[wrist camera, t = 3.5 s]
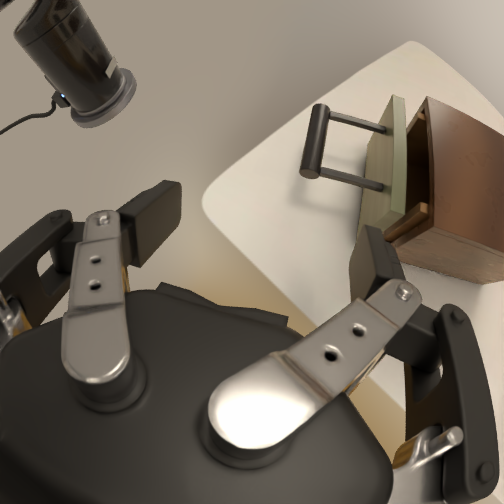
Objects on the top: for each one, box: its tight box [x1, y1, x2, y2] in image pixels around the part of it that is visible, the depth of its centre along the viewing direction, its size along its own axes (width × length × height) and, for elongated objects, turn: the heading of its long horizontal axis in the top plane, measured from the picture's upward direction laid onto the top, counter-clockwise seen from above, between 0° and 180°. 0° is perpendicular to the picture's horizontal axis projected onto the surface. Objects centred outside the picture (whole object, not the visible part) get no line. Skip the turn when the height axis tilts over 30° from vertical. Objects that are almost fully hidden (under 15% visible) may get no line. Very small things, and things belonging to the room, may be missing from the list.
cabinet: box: [385, 96, 504, 285], centre depth 22 cm, size 15×13×11 cm
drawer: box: [299, 95, 430, 242], centre depth 23 cm, size 20×12×9 cm, turn 75°
